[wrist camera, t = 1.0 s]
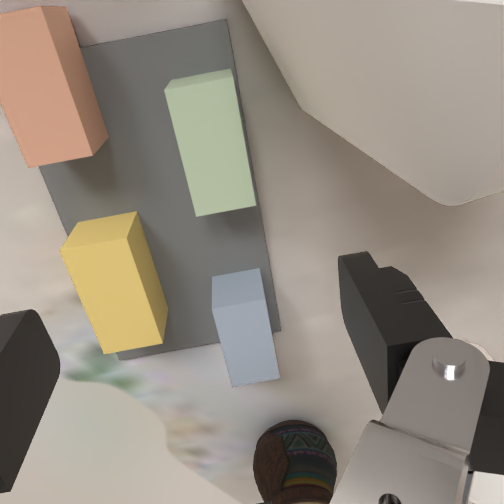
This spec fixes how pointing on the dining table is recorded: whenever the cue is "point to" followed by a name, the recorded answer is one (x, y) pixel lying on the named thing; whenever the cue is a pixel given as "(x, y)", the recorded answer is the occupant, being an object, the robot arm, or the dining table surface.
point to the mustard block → (117, 282)
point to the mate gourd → (295, 464)
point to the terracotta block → (47, 87)
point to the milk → (401, 83)
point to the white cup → (486, 475)
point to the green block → (211, 141)
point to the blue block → (244, 327)
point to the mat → (162, 178)
